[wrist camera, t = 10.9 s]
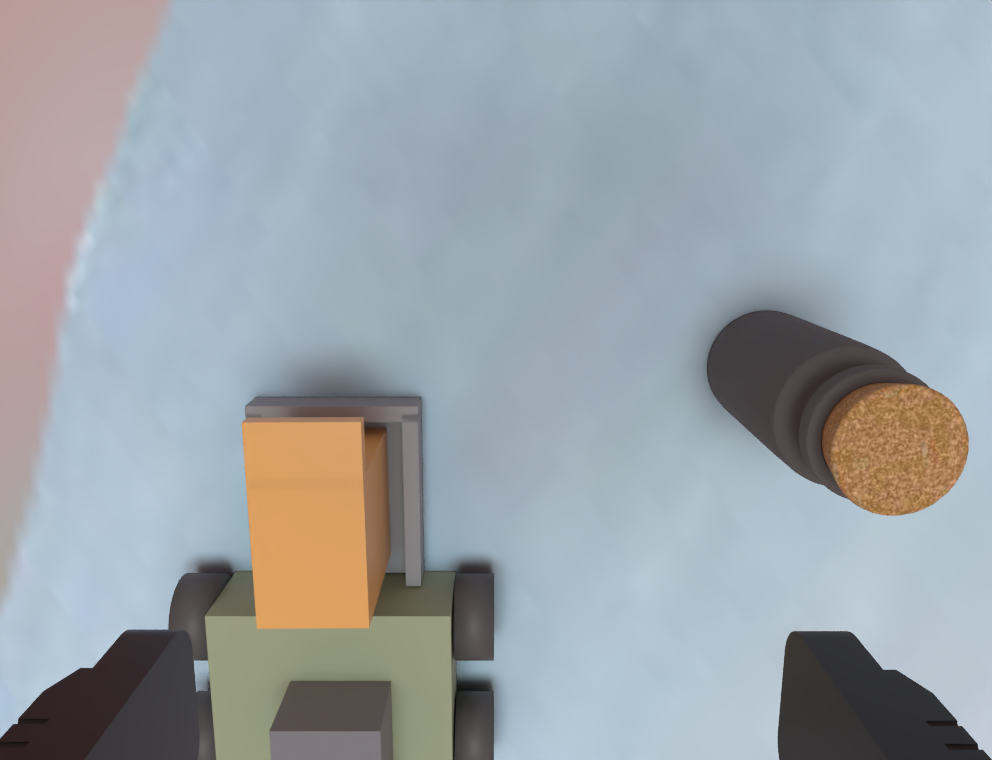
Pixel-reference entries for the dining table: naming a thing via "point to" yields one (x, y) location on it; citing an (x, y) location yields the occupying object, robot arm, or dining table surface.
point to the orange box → (316, 520)
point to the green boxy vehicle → (348, 639)
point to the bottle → (839, 412)
